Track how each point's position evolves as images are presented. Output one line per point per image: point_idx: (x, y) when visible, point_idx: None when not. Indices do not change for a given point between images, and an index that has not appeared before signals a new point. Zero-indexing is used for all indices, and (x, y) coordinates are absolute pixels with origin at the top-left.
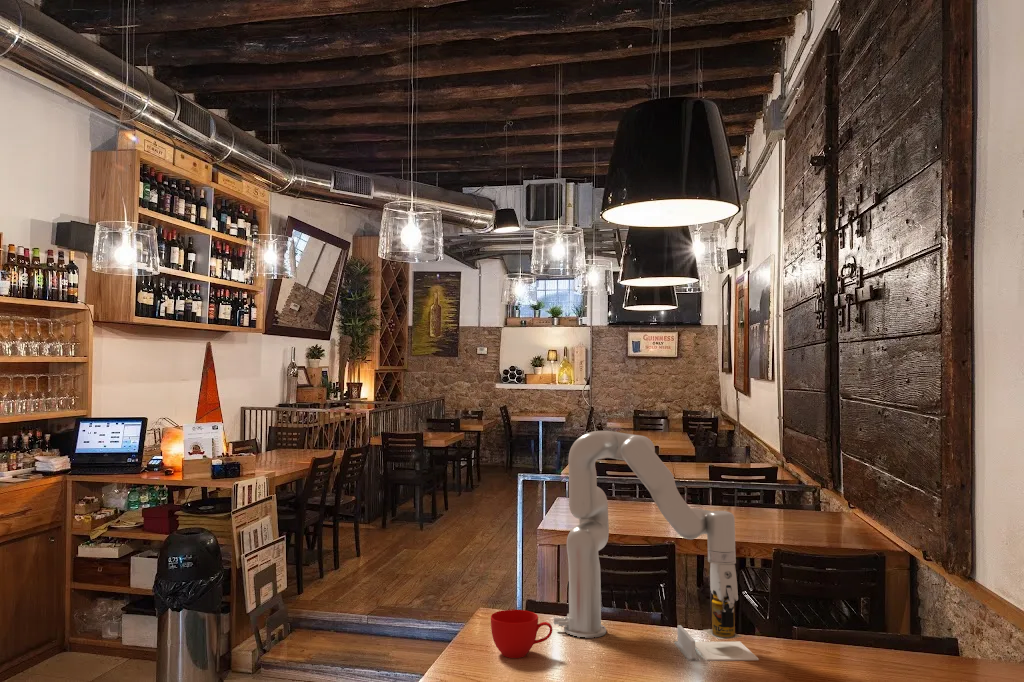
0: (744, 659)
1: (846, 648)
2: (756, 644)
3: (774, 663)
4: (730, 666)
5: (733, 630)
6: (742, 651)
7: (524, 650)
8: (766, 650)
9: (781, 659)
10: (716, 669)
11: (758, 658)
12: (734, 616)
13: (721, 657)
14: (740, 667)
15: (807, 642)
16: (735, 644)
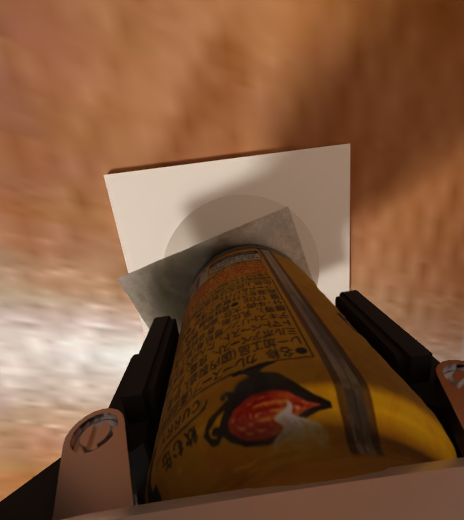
0: (347, 210)
1: None
2: (110, 88)
3: (389, 75)
4: (407, 279)
5: (303, 271)
6: (260, 199)
7: None
8: (202, 57)
9: (337, 12)
10: (430, 330)
11: (349, 144)
12: (306, 293)
13: (332, 299)
14: (421, 244)
15: None
16: (157, 209)
